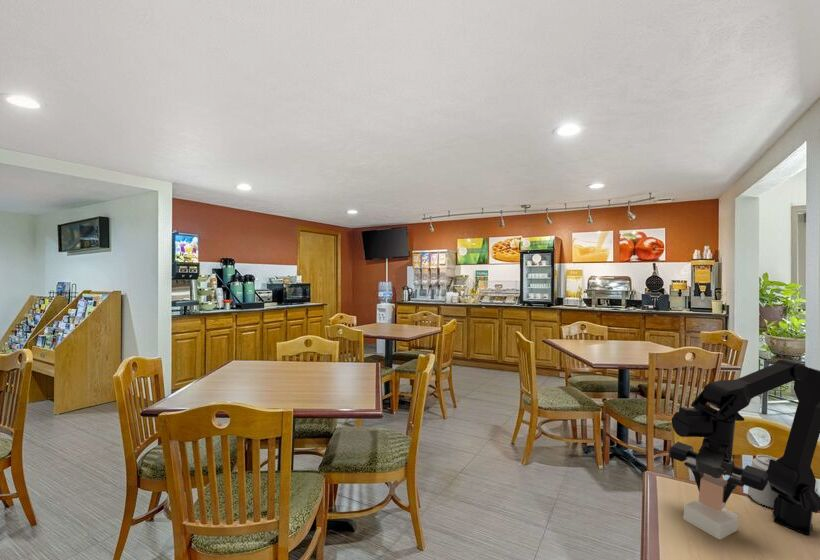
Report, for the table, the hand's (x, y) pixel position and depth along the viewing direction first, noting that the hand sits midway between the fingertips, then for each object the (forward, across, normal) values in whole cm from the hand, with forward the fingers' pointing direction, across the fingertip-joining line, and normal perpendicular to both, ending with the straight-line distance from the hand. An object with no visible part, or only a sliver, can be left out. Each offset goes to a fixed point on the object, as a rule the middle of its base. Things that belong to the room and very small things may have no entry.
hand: (712, 497), depth 99 cm
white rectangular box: (+7, 0, 0) cm, 7 cm away
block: (+2, 0, 0) cm, 2 cm away
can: (+7, +7, +24) cm, 26 cm away
